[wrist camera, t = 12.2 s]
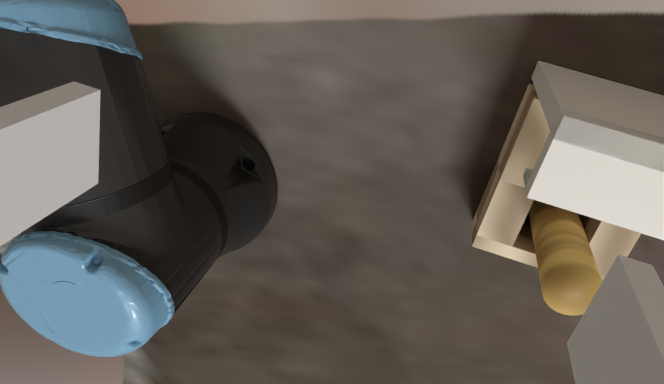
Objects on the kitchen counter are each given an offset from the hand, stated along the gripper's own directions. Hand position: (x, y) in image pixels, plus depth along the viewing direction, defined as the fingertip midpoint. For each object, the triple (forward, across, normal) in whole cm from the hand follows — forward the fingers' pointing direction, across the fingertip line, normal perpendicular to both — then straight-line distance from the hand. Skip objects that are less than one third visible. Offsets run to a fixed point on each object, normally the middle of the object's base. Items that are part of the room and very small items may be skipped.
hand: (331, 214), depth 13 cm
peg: (+37, +15, -13) cm, 42 cm away
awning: (+37, +15, -4) cm, 40 cm away
